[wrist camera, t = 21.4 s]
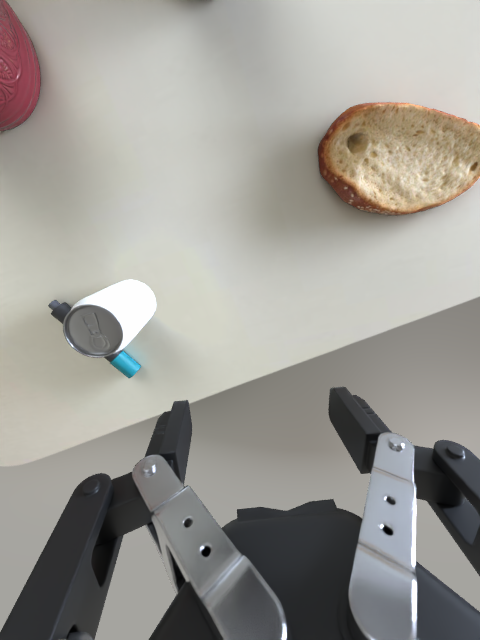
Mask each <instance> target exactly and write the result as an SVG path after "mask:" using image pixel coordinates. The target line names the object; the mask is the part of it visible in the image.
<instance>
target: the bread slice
mask: <svg viewBox="0 0 480 640" xmlns="http://www.w3.org/2000/svg"><path fill="white" fill-rule="evenodd" d="M318 156H319V168H320V173H321V175H322V177H323V178H324V179H325V180H326V181H327V182H328V183H329V184H330V185H331V187H332V188H333V189H334V190H335V191H336V192H337V194H338V195H339V197H340V198H341V199H342V200H343V201H344V202H346V203H348V204H350V205H352V206H354V207H356V208H357V209H360V210H364V211H367V212H372V213H378V214H386V215H404V214H409V213H416V212H420V211H425V210H428V209H431V208H434V207H437V206H440V205H442V204H445V203H446V202H449V201H451V200H453V199H454V198H456V197H457V196H459V195H460V194H462V193H463V192H465V191H466V190H468V189H469V188H470V187H471V186H472V185H473V184H474V183H475V182H476V181H477V180H478V178H479V177H480V125H478V124H476V123H473V122H468V121H467V120H466V119H463V118H459V117H456V116H454V115H450V114H447V113H445V112H442V111H438V110H435V109H429V108H427V107H423V106H418V105H413V104H409V103H391V102H390V103H365V104H359V105H356V106H353V107H350V108H349V109H347V110H346V111H345V112H343V113H342V114H341V115H340V116H339V117H338V118H337V119H336V120H335V121H334V122H333V123H332V125H331V126H330V128H329V129H328V131H327V133H326V134H325V136H324V137H323V139H322V140H321V142H320V144H319V147H318Z"/></svg>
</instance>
